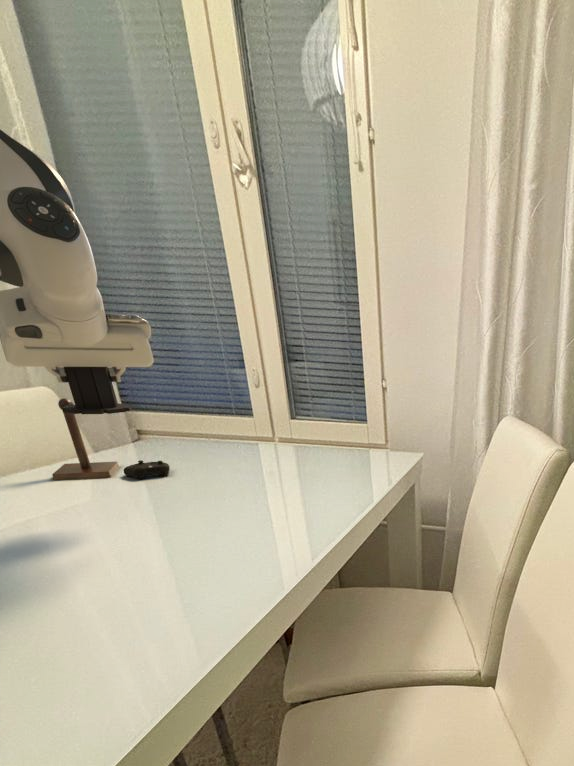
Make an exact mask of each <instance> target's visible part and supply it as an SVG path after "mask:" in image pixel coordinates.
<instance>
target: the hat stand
mask: <svg viewBox="0 0 574 766" xmlns="http://www.w3.org/2000/svg"><path fill="white" fill-rule="evenodd" d="M57 402H58V404H57V405H58V408H59V409H60V410H61V411H62V408H63V407H65V406H70V405H75V403H73V401H72V400H70V399H68V398H65V397H64V398H60V399H59V400H58V401H57ZM62 414H63V417H64V420H65V423H66V426H67V429H68V433H69V435H70V438H71V442H72V444H73V447H74V450H75V454H76V457H77V459H78V462H73V463H71V462H70V463H64V464H62V465H61V466H60V467H59V468H58V469H57V470H55V471H54V472H53V473H52V474H51V475H52V478H53V481H68V480H69V481H70V480H87V479H88V480H89V479H90V480H91V479H109V478H112V477H113V475H115V473H116V472H117V471H118V469H119V468H120V466H119V462H118V461H97V462H90V458H89V456H88V455H89V454H88V452H87V448H86V446H85V442H84V440H83V436H82V433H81V431H80V427H79V424H78V420H77V418H76V414H72V413H65V412H63V411H62Z"/></svg>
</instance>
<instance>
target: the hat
mask: <svg viewBox="0 0 574 766" xmlns="http://www.w3.org/2000/svg"><path fill="white" fill-rule="evenodd" d="M64 370H65V373H66V375H67V378H68V379H67V380H68V382H67V383H68V386H69V389H70V393H71V396H72V399H73V402H74V403H73V404H74V405H70V406H65V407H63V408H62V410H61V411H62V413H63V412H65V413H72V414H75V415H104V414H108V415H109V414H110V415H111V414H119V413H127V412H131V411H132V409H133V406H132V405H131V404H126V403H118V400H117V396H116V392H115V388H114V385H113V382H111V379H110V374H109V371H108V367H64Z"/></svg>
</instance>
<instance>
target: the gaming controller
mask: <svg viewBox="0 0 574 766" xmlns="http://www.w3.org/2000/svg"><path fill="white" fill-rule="evenodd" d="M170 470H171V468H170V464H169V463H167V462H163V461H162V460H157V461H149V462H144V460H141V459H139V460H138V461H137V463H134V464H130V465H127V466H126V467H124V468H123V474H124V475H125V476H126V477H129V478H132V477H133V478H134V477H135V479H137V480H144V477H149V476H157V475H162V477H168V476H169V473H170Z"/></svg>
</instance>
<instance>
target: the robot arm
mask: <svg viewBox="0 0 574 766" xmlns="http://www.w3.org/2000/svg"><path fill="white" fill-rule="evenodd" d="M85 231H86V230H85V229H84V228H83V225H82V223H81V222H80V220H79V218H78V216H77V215H76V211H75V204H74V200H73V198H72V194H71V192H70V190H69V188H68V186H67V184H66V182H65V181H64V179H63V178H62V177H61V175H60V174H59V173H58V171H57V170H56V169H55V168H54V167H53V166H52V165H51V164H50V163H49V162H47V161H46V160H45V159H44V158H43V157H41V156H40V155H39V154H37V153H35V152H34V151H33V150H31V149H30V148H28V147H27V146H26V145H24V144H22V143H21V142H19V141H18V140H16V139H14V138H13V137H11V136H10V135H9V134H7V133H6V132H5V131H3V130H2V129H0V282H2V283H5V284H8V285H12V286H15V287H14V288H7V289H3V290H0V343H1V347H2V351H3V355H4V357H5V360H6V362H7V363H9V364H10V365H12V366H14V367H18V368H20V367H21V368H24V367H25V368H27V367H28V368H29V367H31V368H33V367H34V368H39V367H40V368H44V369H45V370H46V371H47V372H48V373H50V374H51V375H53V376H54V377H56V381H57V383H59V384H61V383H64V384H65V383H68V380H67V379H68V378H67V375H66V373H65V370H64V367H108V371H109V374H110V379H111V382H112V383H122V380H121V376H122V375H123V374H124V373H125V371H126V370H127V368H148V367H151V366H152V365H153V364H154V362H155V360H154V355H153V351H152V349H151V345H150V340H149V339H150V338H151V337H152V326H151V324H150V323H149V321H148V320H147V319H144V318H142V317H139V315H137V314H119V313H106V311H105V306H104V301H103V297H102V294H101V292H100V290H99V288H98V287H97V285H98V272H97V267H96V263H95V259H94V255H93V250H92V248H91V244H90V242H89V239H88V236H87V234H86V232H85Z"/></svg>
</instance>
